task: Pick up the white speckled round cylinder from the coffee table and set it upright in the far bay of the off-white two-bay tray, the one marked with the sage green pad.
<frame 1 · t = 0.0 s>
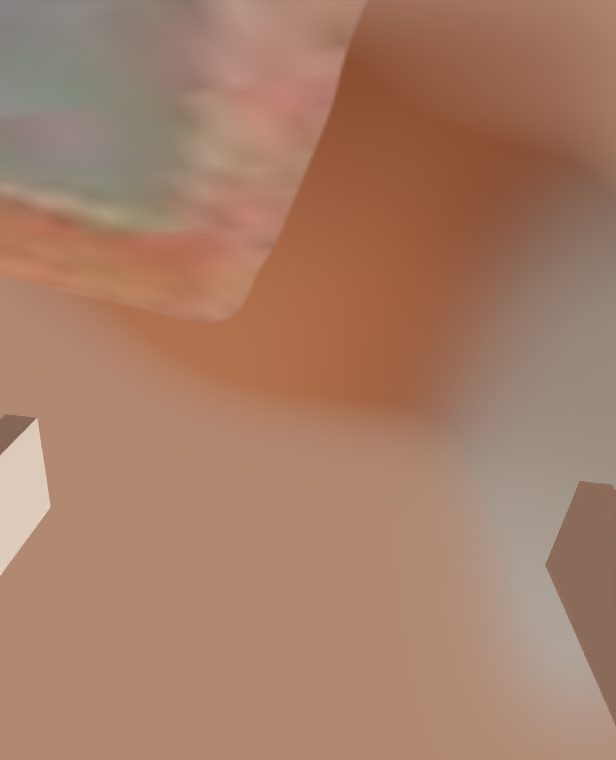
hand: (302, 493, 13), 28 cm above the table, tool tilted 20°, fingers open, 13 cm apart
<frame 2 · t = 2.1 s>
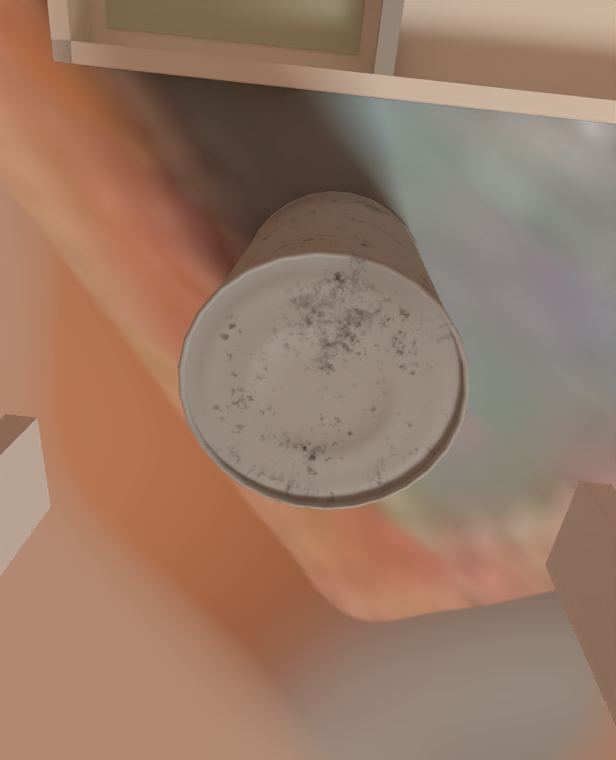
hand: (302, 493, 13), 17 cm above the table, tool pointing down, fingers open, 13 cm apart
white speckled round cylinder: (332, 284, 29), on the table
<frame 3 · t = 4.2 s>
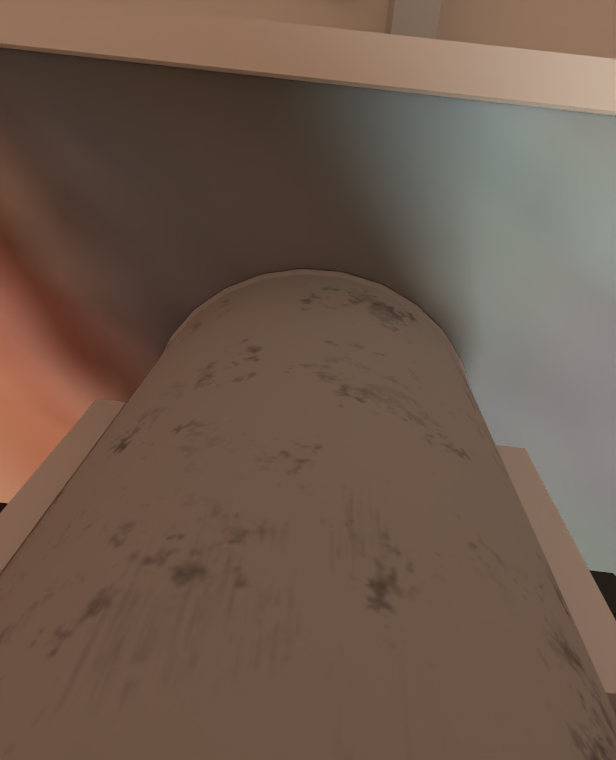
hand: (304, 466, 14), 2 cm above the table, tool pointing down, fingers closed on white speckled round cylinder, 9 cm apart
white speckled round cylinder: (310, 421, 16), on the table, touching gripper
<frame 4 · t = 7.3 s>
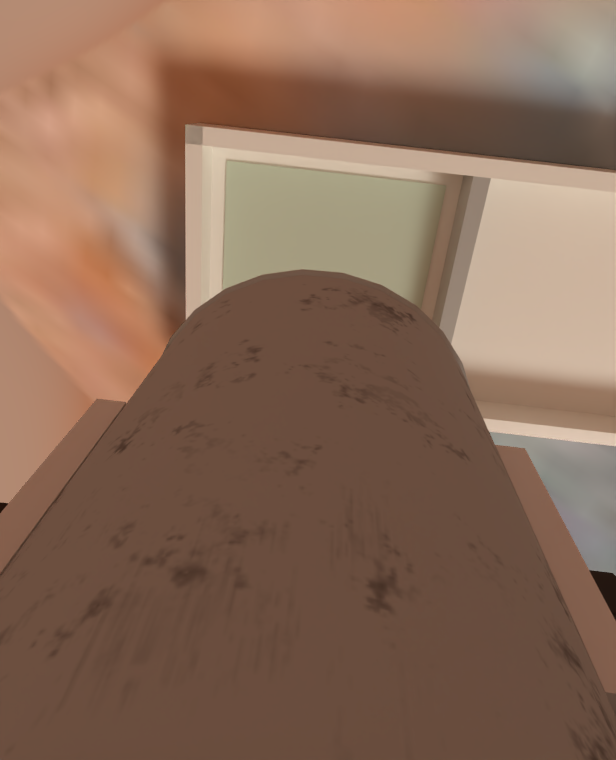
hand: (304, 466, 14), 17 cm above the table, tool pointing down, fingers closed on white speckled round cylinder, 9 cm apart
bay tray: (444, 291, 30), on the table
white speckled round cylinder: (309, 421, 16), point 15 cm above the table, touching gripper
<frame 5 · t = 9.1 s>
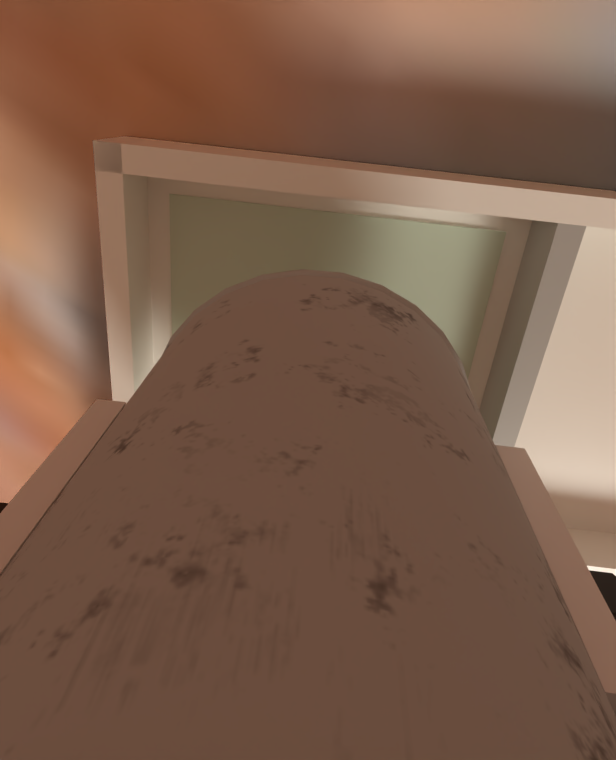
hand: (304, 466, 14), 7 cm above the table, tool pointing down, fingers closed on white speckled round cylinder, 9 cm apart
bay tray: (494, 380, 20), on the table
white speckled round cylinder: (309, 421, 16), point 5 cm above the table, touching gripper
when the fingers open (4 cm above the table, at t = 10.7 s): white speckled round cylinder drops 1 cm, resting on bay tray.
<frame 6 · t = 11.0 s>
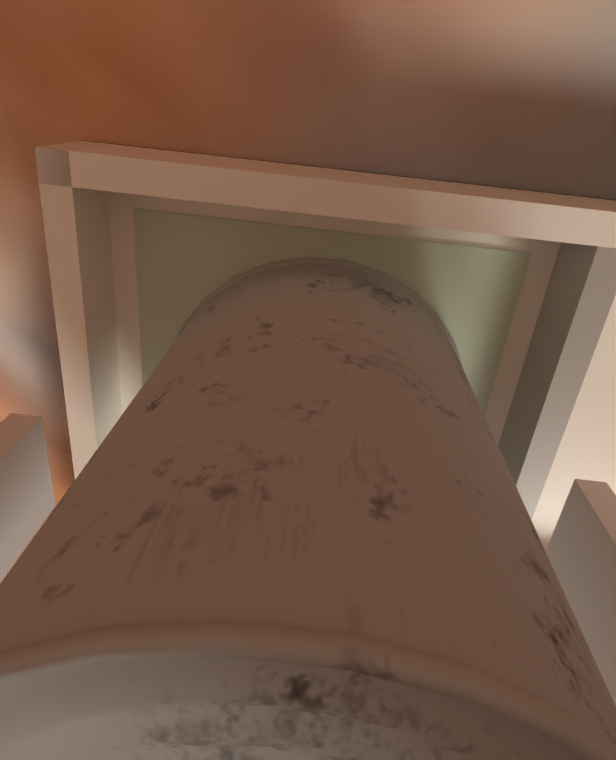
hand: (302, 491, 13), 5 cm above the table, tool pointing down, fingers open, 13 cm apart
bay tray: (513, 419, 18), on the table
white speckled round cylinder: (313, 401, 18), resting on bay tray
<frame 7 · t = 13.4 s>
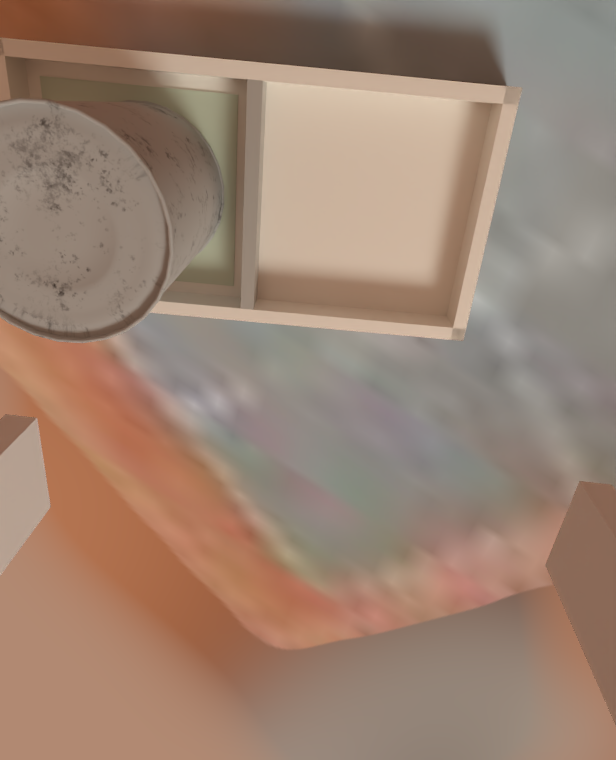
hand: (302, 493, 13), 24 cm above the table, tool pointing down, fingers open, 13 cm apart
bay tray: (255, 198, 33), on the table
white speckled round cylinder: (146, 189, 33), resting on bay tray
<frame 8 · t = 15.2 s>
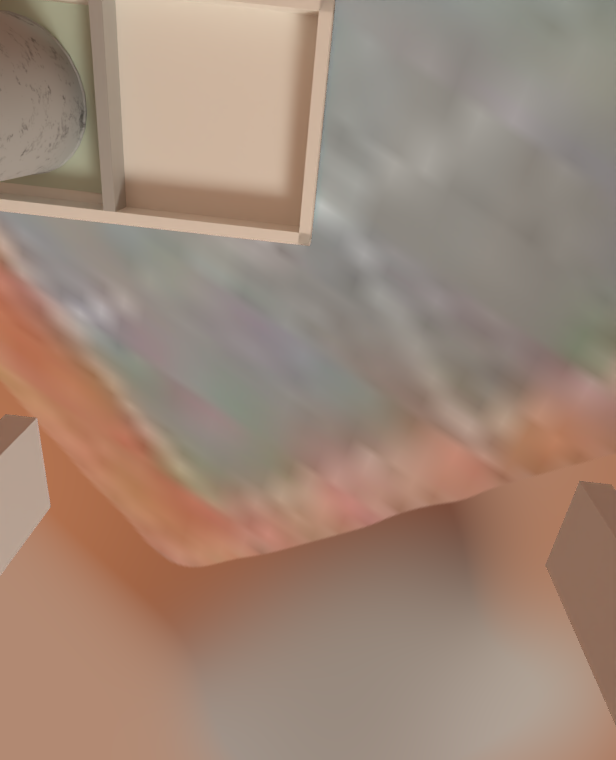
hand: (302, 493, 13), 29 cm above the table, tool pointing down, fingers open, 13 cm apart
bay tray: (117, 108, 36), on the table
white speckled round cylinder: (16, 97, 36), resting on bay tray
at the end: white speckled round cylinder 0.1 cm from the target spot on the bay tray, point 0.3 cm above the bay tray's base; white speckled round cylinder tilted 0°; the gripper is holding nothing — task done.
